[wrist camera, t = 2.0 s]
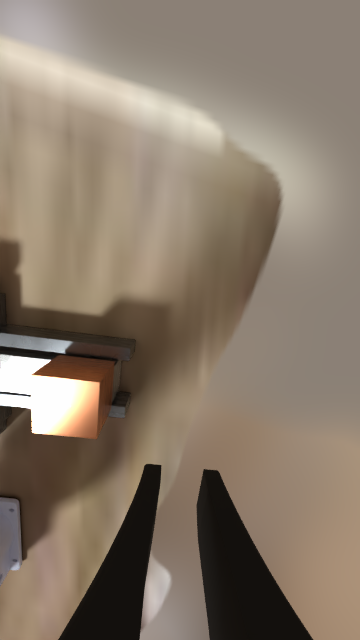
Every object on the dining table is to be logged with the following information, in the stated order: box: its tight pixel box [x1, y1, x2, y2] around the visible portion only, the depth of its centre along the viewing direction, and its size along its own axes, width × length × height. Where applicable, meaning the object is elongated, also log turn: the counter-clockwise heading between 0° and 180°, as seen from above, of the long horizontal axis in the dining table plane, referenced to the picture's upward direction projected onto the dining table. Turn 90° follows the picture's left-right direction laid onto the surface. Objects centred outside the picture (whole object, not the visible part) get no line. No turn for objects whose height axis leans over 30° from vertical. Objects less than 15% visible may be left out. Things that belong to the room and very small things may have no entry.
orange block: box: [0, 346, 121, 439], centre depth 15 cm, size 4×11×5 cm, turn 83°
